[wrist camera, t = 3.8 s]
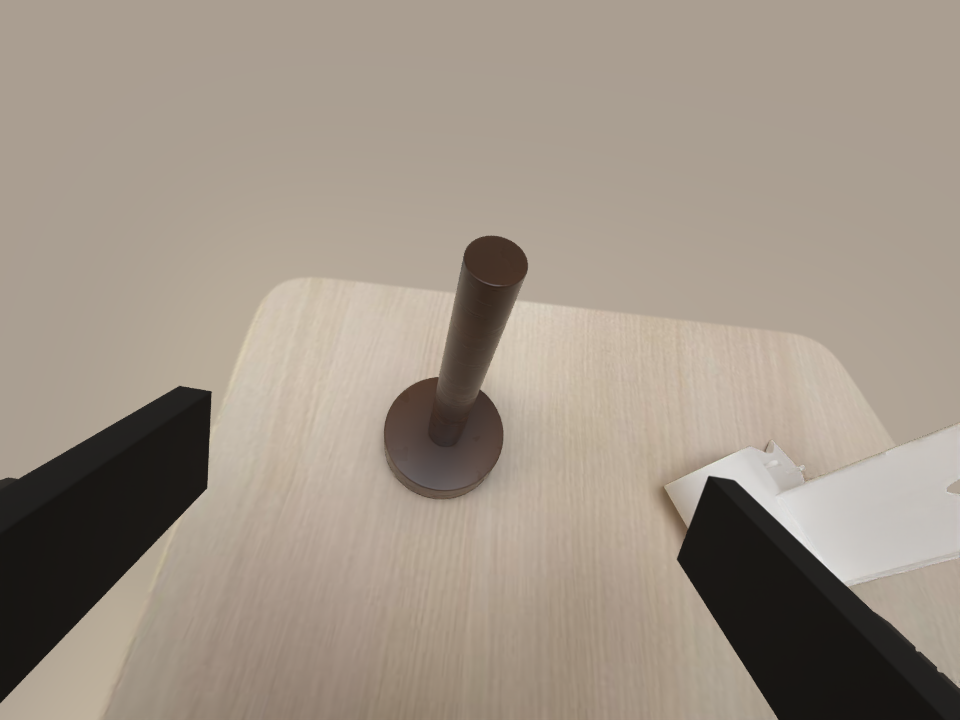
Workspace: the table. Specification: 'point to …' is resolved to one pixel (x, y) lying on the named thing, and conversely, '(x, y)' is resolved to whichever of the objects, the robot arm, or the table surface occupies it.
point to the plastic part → (853, 504)
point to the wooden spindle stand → (459, 383)
